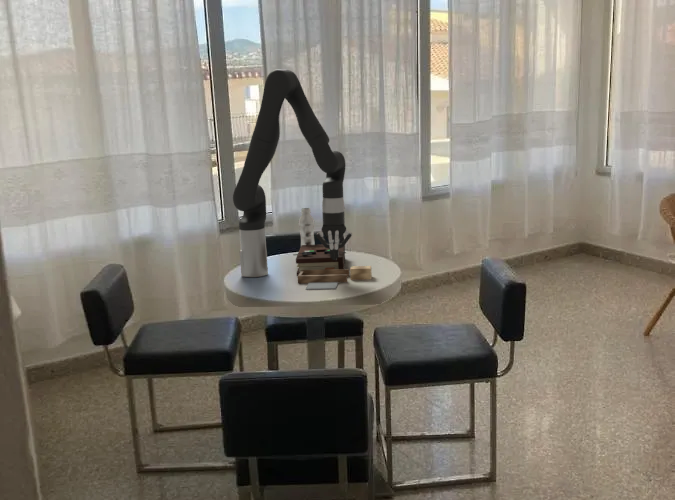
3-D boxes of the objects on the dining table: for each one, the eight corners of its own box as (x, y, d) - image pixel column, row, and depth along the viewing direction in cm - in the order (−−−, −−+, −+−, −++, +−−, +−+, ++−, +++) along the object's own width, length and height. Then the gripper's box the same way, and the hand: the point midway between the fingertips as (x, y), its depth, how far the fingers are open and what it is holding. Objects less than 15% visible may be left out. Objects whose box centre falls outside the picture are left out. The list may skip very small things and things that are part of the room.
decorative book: (347, 240, 280) (345, 256, 251) (348, 258, 282) (346, 276, 252) (298, 242, 281) (291, 258, 252) (299, 260, 283) (292, 279, 253)
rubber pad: (305, 289, 236) (305, 288, 236) (309, 283, 244) (309, 282, 243) (335, 289, 235) (335, 287, 235) (338, 283, 242) (338, 281, 242)
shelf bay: (298, 283, 245) (297, 276, 244) (301, 276, 254) (301, 270, 253) (347, 282, 243) (346, 275, 243) (349, 275, 252) (349, 268, 251)
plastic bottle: (318, 256, 287) (315, 207, 283) (314, 260, 280) (311, 209, 276) (303, 256, 288) (300, 207, 284) (298, 260, 282) (295, 210, 278)
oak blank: (350, 280, 246) (350, 269, 245) (351, 277, 250) (351, 266, 249) (370, 279, 245) (370, 268, 245) (371, 277, 249) (371, 265, 248)
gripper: (312, 212, 240) (314, 262, 244) (351, 211, 239) (352, 262, 242) (315, 208, 247) (317, 257, 251) (353, 208, 246) (354, 257, 250)
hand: (334, 259), depth 247 cm, fingers closed
